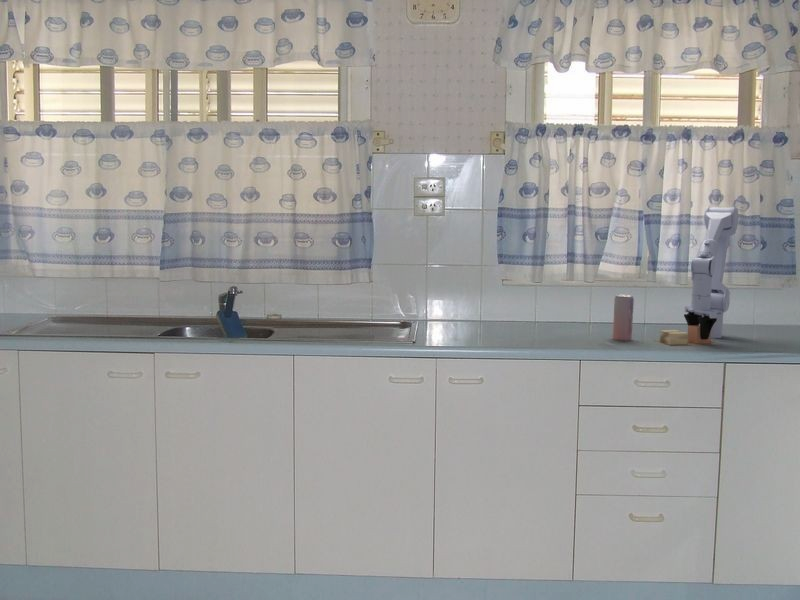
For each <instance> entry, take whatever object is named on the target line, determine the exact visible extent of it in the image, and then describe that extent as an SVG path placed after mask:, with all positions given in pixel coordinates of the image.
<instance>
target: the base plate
mask: <svg viewBox="0 0 800 600" xmlns="http://www.w3.org/2000/svg"><path fill="white" fill-rule="evenodd" d="M654 342H657V343H660V344H664V345H666V346H669V347H676V346H677V347H679V346H680V347H682V346H686V347H687V346H708V345H709V346H711V345H712V346H713V345H714V346H715V345H720V343H719V342H715V341H713V340H712V341H711V340H710V343H697V344H696V343H693V342H689V341H687V344H674V345H670V344H667V343H664V342H660V339H657V340H656V339H655V340H654Z"/></svg>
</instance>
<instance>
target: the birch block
mask: <svg viewBox="0 0 800 600" xmlns="http://www.w3.org/2000/svg"><path fill="white" fill-rule="evenodd" d="M659 340H660V342H664V343H667V344H670V345H674V344H687V341H688V332H685V331H682V330H678V329H670V330H665V329H664V330H660V333H659ZM660 342H659V343H660Z"/></svg>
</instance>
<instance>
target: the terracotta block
mask: <svg viewBox="0 0 800 600" xmlns="http://www.w3.org/2000/svg"><path fill="white" fill-rule="evenodd" d="M687 333H688V341H689V342H693V343H696V344H697V343H710V341H711V339H712V338H711V331H710V334H709V337H708V339H701V335H700V325H688V324H687Z"/></svg>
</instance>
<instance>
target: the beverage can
mask: <svg viewBox="0 0 800 600" xmlns="http://www.w3.org/2000/svg"><path fill="white" fill-rule="evenodd" d="M634 299H635V298H634V295H632V294H615V296H614V300H613V301H614V303H613V304H614V305H613V307H614V308H613V323H612V324H613V326H612V327H613V329H612V339H613V340H614V341H622V342H623V341H625V342H627V341H628V342H629V341H630V342H631V341H632V340H633V320H634V318H633V317H634V303H635V300H634Z"/></svg>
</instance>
